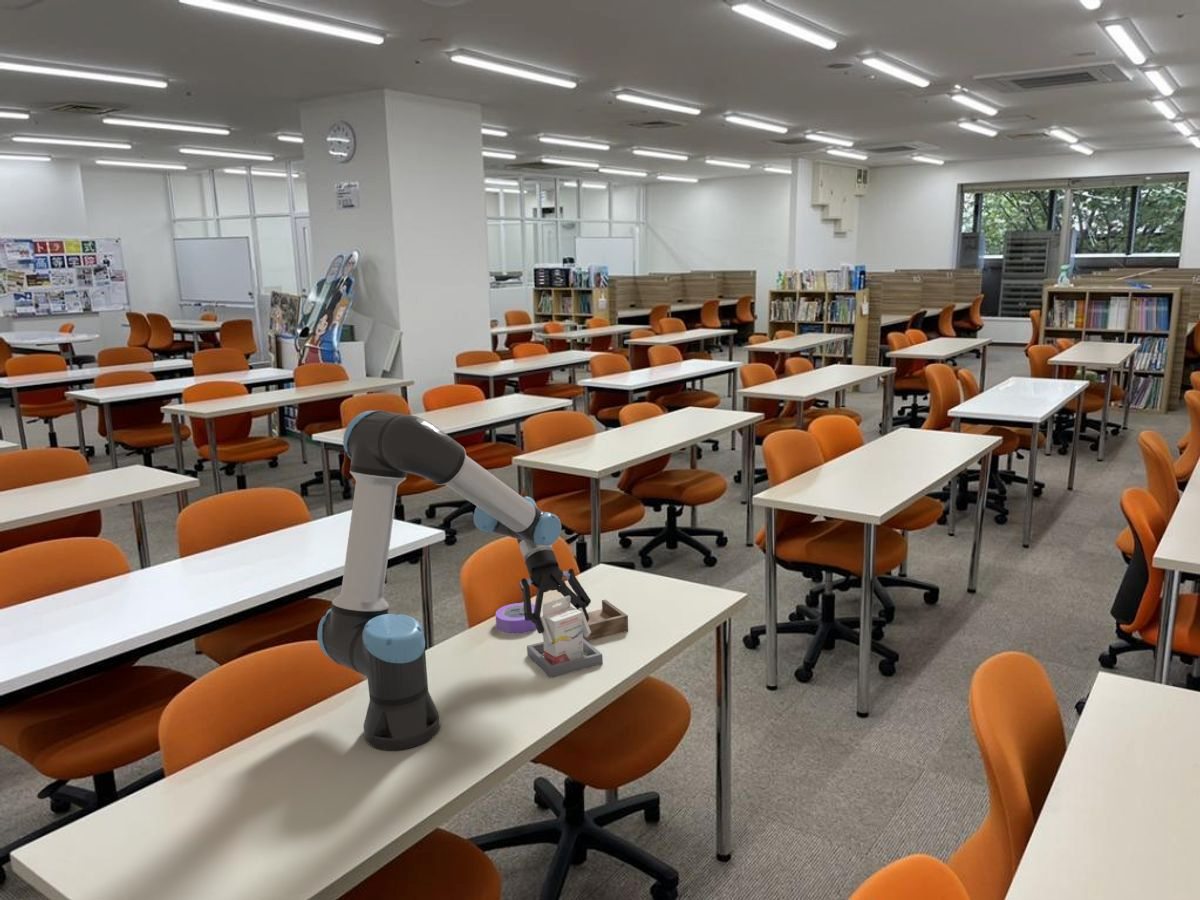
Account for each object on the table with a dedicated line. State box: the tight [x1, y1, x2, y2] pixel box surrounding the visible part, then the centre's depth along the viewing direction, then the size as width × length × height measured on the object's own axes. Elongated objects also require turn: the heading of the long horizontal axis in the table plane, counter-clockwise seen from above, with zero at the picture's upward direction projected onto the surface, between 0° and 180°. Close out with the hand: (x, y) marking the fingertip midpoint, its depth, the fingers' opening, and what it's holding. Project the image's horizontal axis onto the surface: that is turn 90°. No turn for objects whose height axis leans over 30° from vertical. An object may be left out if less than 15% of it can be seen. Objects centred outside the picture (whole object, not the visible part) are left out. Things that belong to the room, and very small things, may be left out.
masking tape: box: [495, 602, 542, 635], centre depth 226 cm, size 12×12×4 cm
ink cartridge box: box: [542, 596, 585, 665], centre depth 204 cm, size 9×5×15 cm, turn 130°
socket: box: [526, 638, 604, 679], centre depth 205 cm, size 14×14×2 cm
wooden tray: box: [583, 599, 629, 642], centre depth 223 cm, size 14×14×4 cm
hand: (569, 639), depth 201 cm, fingers closed on ink cartridge box, 9 cm apart
